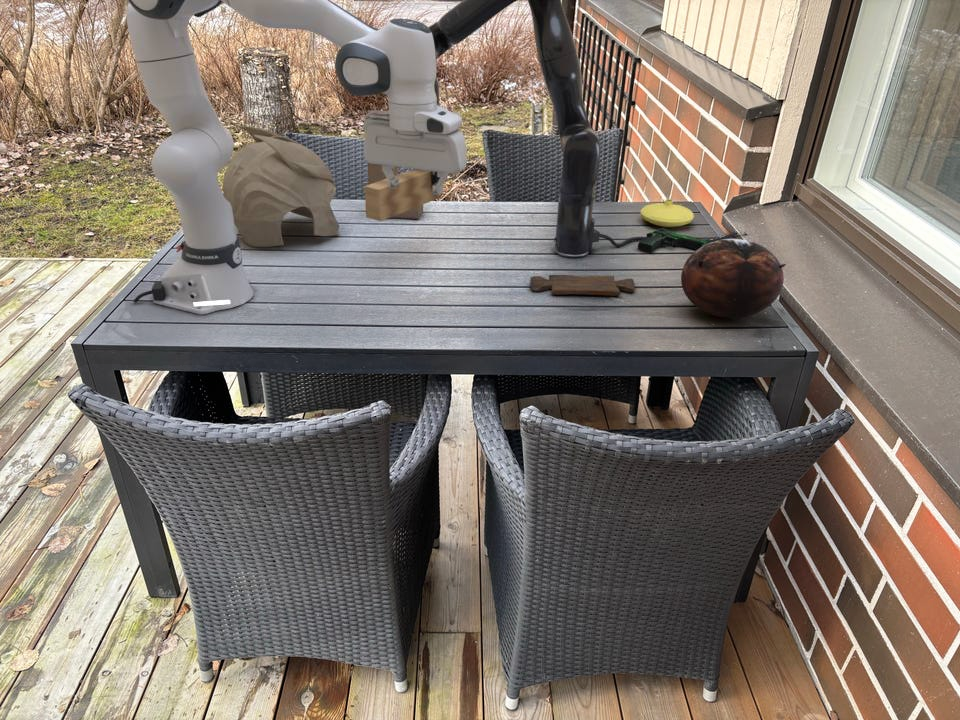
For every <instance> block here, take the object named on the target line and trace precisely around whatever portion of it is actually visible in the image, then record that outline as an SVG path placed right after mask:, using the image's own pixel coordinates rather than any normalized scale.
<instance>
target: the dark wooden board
mask: <svg viewBox="0 0 960 720" xmlns="http://www.w3.org/2000/svg"><path fill="white" fill-rule="evenodd" d="M529 278H530V285H529V286H530V291H531V292H542V291H547V290H551V294H552V295H556V296H557V295H558V296H559V295H560V296H562V295H588V296H589V295H592V296H612V297H613V296H614V297H615V296H619V295H621V291H623V292H627V293H634V290H635V282H634V279H633V278H625V279H619V280H618V279H617V280H615V276H614V275H573V274H572V275H570V274H549V275H548V279H547V278H546V277H543V276H540V275H534V276H530V277H529Z"/></svg>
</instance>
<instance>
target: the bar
mask: <svg viewBox="0 0 960 720" xmlns="http://www.w3.org/2000/svg"><path fill="white" fill-rule="evenodd" d="M398 174H399V175H396V176H395V177H397V178H399V187H398V188H389V186H388V179H384V180H381V181H378V182H375V183H372V184H369V183H368V184H366V185H364V186H363V187H364V188H363V189H364V203H365V217H366V218H368V219H371V220H375V221H377V222H382V221H385V220H387V219H391V218H393V217H392V216H395V215H397V214H400V213H403V212H405V211H408V210H410V209H413V208H415V207H418V206H420V205H423V206H424V205H425V204H428V203H431V202H433V201H435V200H438V199H441V198H442V194H440V195H438V194H433V192H432V191H433V189H432V187H431V175H432V173H431V171H427V170H420V169H414V170H413V169H410V170H407V171H406V172H403V173H398Z"/></svg>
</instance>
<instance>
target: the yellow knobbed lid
mask: <svg viewBox="0 0 960 720" xmlns="http://www.w3.org/2000/svg"><path fill="white" fill-rule="evenodd" d="M640 216H641V218H642V219H643V220H644V221H646V222H648V223H649V224H652V225H654V226H658V227H663V228H678V227H683V226H685V225H688V224H690V223H692V221H693V220H694V218H695V215H694V213H693V211H692V210H691V209H689V208H688V207H686V206H683V205H680V204H674V199H671V198H666V199H665V200H664V202H657V203H649V204H647V205H644V206H643V207H642V208H641V210H640Z"/></svg>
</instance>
